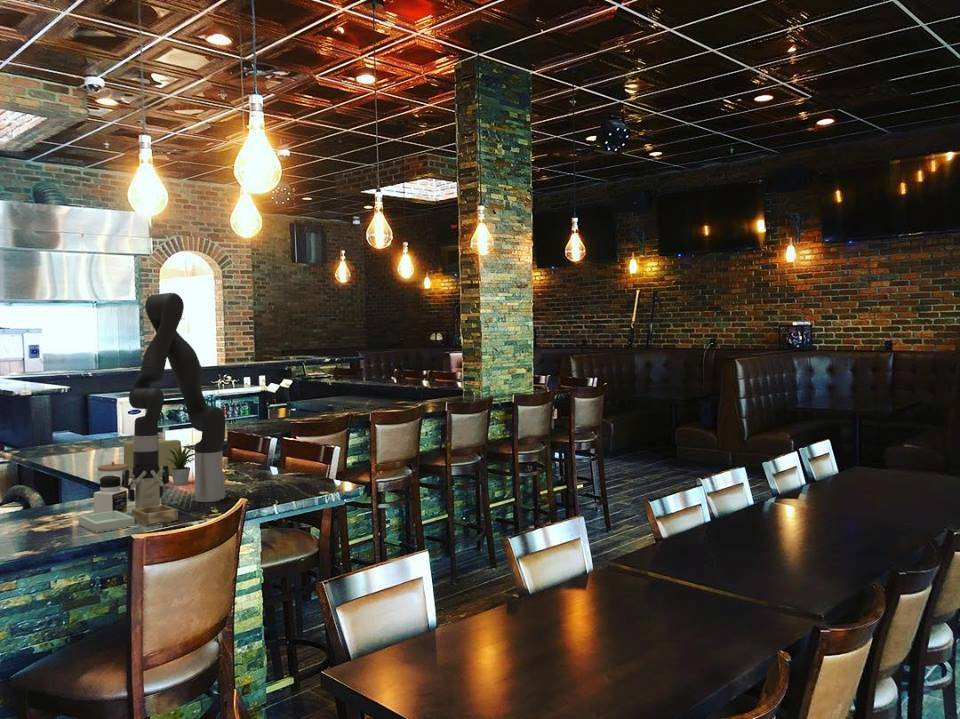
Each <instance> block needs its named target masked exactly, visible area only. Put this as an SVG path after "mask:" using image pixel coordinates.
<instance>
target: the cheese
mask: <svg viewBox="0 0 960 719" xmlns="http://www.w3.org/2000/svg"><path fill="white" fill-rule="evenodd" d="M181 442H182V441H181V440H179V439H170V440H159V462H158V465H159V466H162V465H166V466H168V468H169V476H171V477H172V472H171V468H175V467H176V466H175V465H174V464H173V462H171V463H172V464H170V460H168V459H166V458H170V459H172V460H173V461H176V460H174V459H175V458H173V457H174V456H173V454H172V453H171V451H170V450H172V451H174V452H175V454H176V456H177V452H176V450H177V448H178V446H179V444H180V448H181V453H182V452H183V449H182V443H181ZM133 443H134V439H132V440H129V441H126V442H124V443H123V464H127V465H128V469H132V468H133ZM172 447H174V448H175V449H176V450H175V449H174V448H172ZM168 449H170V450H168ZM166 450H167V451H166ZM172 456H173V457H172ZM157 475H158V477H160V476H162V472H161V471H160V470H159V472H158V473H157ZM134 476H135V475H134V474H133V473H131V475H130V476H129V479H132V478H133V477H134ZM160 478H161V477H160Z"/></svg>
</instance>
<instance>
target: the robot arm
mask: <svg viewBox="0 0 960 719" xmlns="http://www.w3.org/2000/svg"><path fill="white" fill-rule="evenodd" d="M144 303H145V305H144V306H145V312H146V316H147V317H148V320H149V322H150V323H151V325H152V327H153V329H154V331H155V336H154V337H153V338H152V340H151V341H150V343H149V344H148V346H147V348H146V350H145V352H144V354H143V358H142V361H141V367H140V371H139V374H138V376H137V377H136V379H135V381H134V383H133V384H132V387H131V389H130V391H129V394H128V403H129V405H130V406H131V408H132V409H137V410H147V411H146V413H145V415H143V416H139V417H137V418H135V419H134V429H133V430H134V433H133V434H134V436H133V437H134V438H133V440H134V443H133V468H132V469H123V472H122V486H121V488H122V489H125V490H127V500H129V501H130V502H135V486H136V485H137V484H138V483H139V482H140V481H141V479H145V478H157V477H158V475H157V473H158V472H159V470H160V471H161V472H162V477H160V478H159V477H158V478H159V480H160V499H161V498H162V497H163V495H164V485H168V484H169V483H170V477H169V468H168V466H166V465H162V466H159V465H158V462H159V441H160V440H159V421H160V418H161V413H162V410H163V406H164V403H165V396H164V394H165V393H164V392H163V391H162V390H161V389H160V388H158V387H151V385H152V384H154V383H157V382H161V381H162V380H163V377H164V373H165V368H166V363H167V360H168V363H169V366H170V368H171V371H172V373H173V376H174V378H175V380H176V382H177V385H178V387H179V390H180V394H181V395H182V398H183V401H184V404H185V408H186V411H187V412H186V413H187V416H188V419H189V422H190V424H191V426H192V428H194V430H195V431H198V432H201V439H200V441H199V442H196V443H195V444H194V450H195V451H194V453H195V455H194V502H197V503H198V502H199V503H214V502H218V501H221V499H222V500H225V499H226V473H225V471H223V447H224V443H225V439H226V415H225V412H224V411H223V409H222V408H221V407H220V406H215V405H214V406H213V405H208V403H207V401H206V400H205V396H204V394H203V390H202V381H203V369H202V365H201V363H200V360H199V357H198V355H197V353H196V351H195V349H194V348H193V347H192V345H190V343H188V342H187V340H185V338H184V337H183V336H181V335H180V333H179V332H178V331H177V330H178V327H179V324H180V322H181V319H182V318H183V317H182V316H183V314H184V308H185V307H184V306H185V304H184V300H183V298H182V297H181V296H180V295H179V294H177V293H175V292H166V293H165V292H164V293H157V294H152V295H149V296H148V297H147V299H146V300H145V302H144ZM131 473H133V474H134V475H135V476H134V477H133V478H131V480H130V478H129V476H130V475H131ZM135 478H137V479H136V480H135ZM161 478H162V479H161ZM224 498H225V499H224Z"/></svg>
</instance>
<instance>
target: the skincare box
mask: <svg viewBox="0 0 960 719" xmlns="http://www.w3.org/2000/svg"><path fill="white" fill-rule="evenodd" d="M159 478H160V480H161V477H159ZM159 478H158V477H157V478H145V479H141V481H140V482H139V483H138V484H137V485H136V486H135V488H134V490H135V501H134V503H135V505H134V509H139V508H146V507H152V506H159V505H161V503H160V499H161V498H160V480H159ZM136 479H137V478H135V480H136Z"/></svg>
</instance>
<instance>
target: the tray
mask: <svg viewBox="0 0 960 719" xmlns="http://www.w3.org/2000/svg"><path fill="white" fill-rule="evenodd" d="M79 525H81V526H83V527H82V528H84V527H85V528H84V529H86V528H87V529H86V530H88V529H89V530H88V531H90V530H91V531H90V532H92V531H93V533H94V532H95V534H99V533H98V532H101V533H105V532H104V531H107V532H111V531H110V530H113V531H116V530H115V529H119V528H124V527H129V526H135V522H134V517H132V515H128V514H125V513H124V512H119V511H109V512H103V513H96V514H94V513H92V514H85V515H78V526H79ZM81 526H80V527H81ZM119 530H120V529H119Z"/></svg>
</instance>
